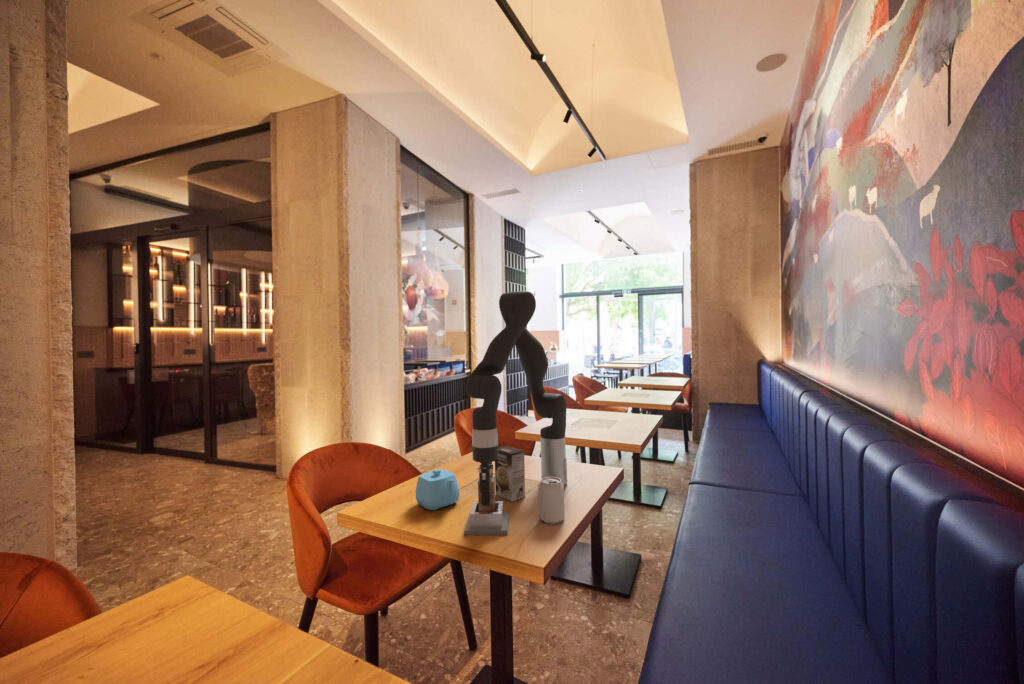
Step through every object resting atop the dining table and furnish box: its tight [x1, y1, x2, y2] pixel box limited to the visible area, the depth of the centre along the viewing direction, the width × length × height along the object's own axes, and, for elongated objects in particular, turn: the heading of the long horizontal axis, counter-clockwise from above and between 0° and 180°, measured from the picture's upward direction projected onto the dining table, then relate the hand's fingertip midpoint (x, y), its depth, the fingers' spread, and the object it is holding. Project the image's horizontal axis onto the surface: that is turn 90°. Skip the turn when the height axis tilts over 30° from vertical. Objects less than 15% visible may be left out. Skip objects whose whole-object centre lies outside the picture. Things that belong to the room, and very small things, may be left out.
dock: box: [463, 500, 510, 536], centre depth 120 cm, size 12×12×5 cm
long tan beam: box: [477, 476, 496, 512], centre depth 120 cm, size 4×4×12 cm
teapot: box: [415, 468, 460, 511], centre depth 135 cm, size 12×18×12 cm
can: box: [538, 477, 566, 525], centre depth 123 cm, size 8×8×12 cm
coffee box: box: [494, 445, 526, 502], centre depth 142 cm, size 9×6×16 cm
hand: (486, 500), depth 120 cm, fingers open, 5 cm apart
